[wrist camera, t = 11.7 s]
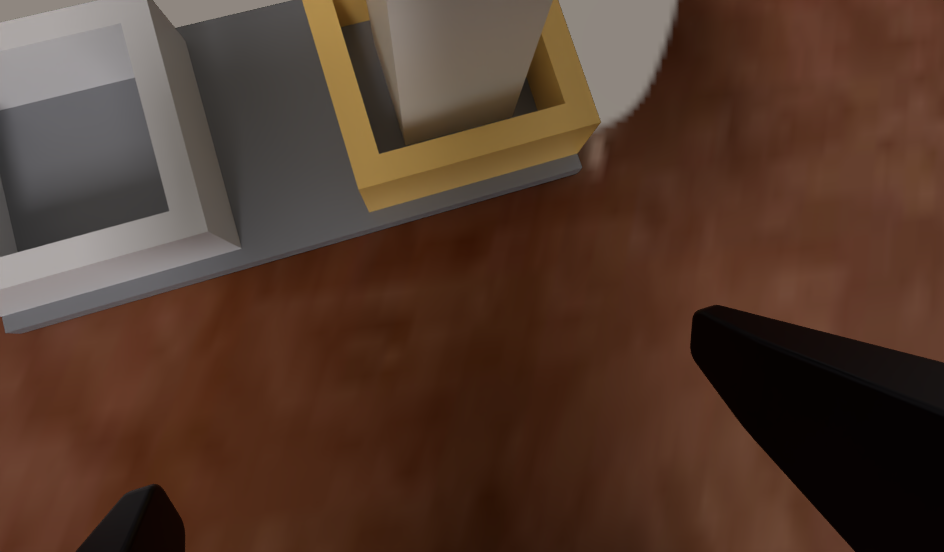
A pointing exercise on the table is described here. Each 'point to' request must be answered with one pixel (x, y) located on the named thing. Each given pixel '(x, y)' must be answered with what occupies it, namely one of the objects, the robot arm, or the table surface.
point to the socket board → (231, 147)
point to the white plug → (454, 60)
